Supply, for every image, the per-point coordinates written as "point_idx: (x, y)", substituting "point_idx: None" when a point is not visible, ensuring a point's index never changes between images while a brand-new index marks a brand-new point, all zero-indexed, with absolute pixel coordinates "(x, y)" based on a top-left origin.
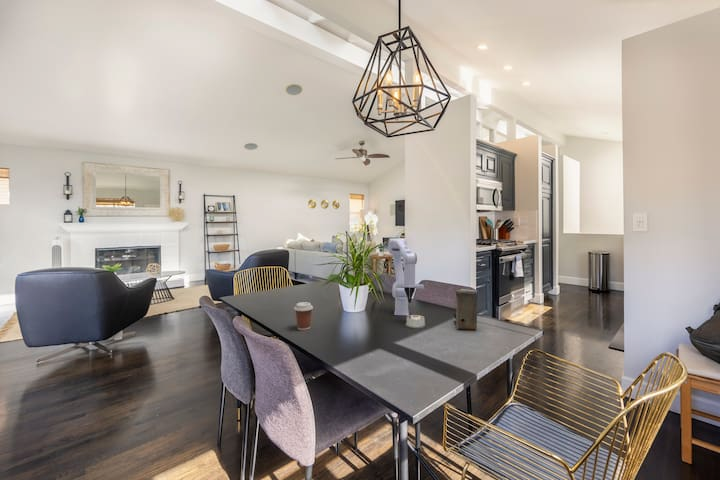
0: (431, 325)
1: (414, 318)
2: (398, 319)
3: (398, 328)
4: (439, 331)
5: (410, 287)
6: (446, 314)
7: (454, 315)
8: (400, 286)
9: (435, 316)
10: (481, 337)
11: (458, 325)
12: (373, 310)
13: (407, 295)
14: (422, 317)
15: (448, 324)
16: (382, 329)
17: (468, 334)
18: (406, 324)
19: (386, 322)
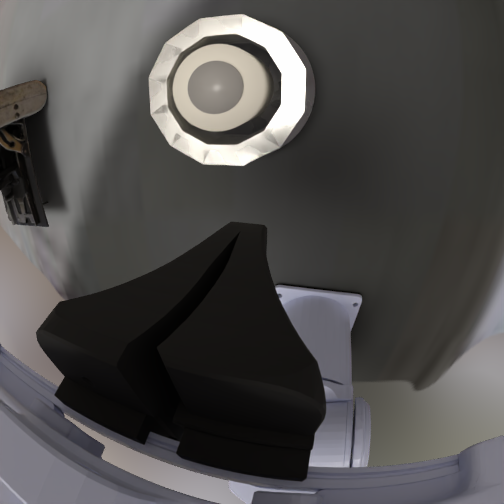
0: (140, 110)
1: (230, 45)
2: (352, 219)
3: (368, 24)
4: (108, 23)
5: (140, 448)
6: (104, 289)
7: (39, 205)
8: (398, 501)
9: (136, 268)
10: (8, 39)
11: (27, 82)
12: (434, 354)
13: (258, 282)
14: (163, 100)
15: (73, 149)
16: (467, 28)
17: (27, 46)
18: (307, 77)
19: (441, 160)
